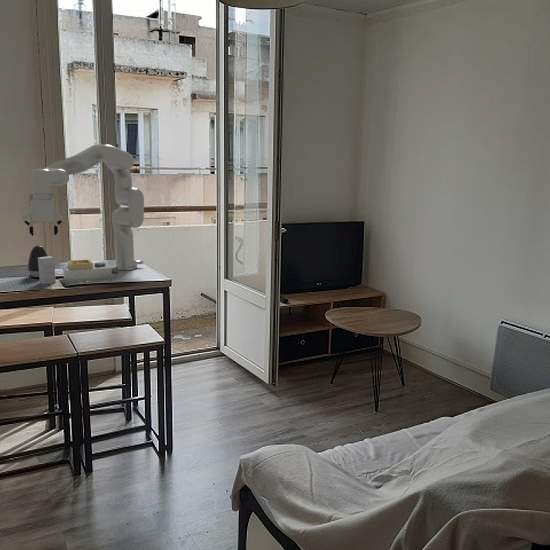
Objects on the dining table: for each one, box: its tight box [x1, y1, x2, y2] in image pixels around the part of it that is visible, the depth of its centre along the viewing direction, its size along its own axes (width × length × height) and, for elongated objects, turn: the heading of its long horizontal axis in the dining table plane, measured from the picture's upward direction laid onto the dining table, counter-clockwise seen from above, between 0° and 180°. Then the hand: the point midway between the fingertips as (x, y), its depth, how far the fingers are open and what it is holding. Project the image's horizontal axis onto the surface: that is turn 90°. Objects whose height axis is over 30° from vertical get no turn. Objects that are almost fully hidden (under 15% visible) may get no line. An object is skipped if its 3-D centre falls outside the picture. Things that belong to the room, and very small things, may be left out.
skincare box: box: [38, 255, 57, 285], centre depth 250 cm, size 6×4×12 cm
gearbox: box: [62, 259, 119, 284], centre depth 262 cm, size 24×14×8 cm, turn 117°
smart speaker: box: [27, 245, 49, 278], centre depth 263 cm, size 10×10×15 cm
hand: (44, 235), depth 247 cm, fingers open, 9 cm apart
